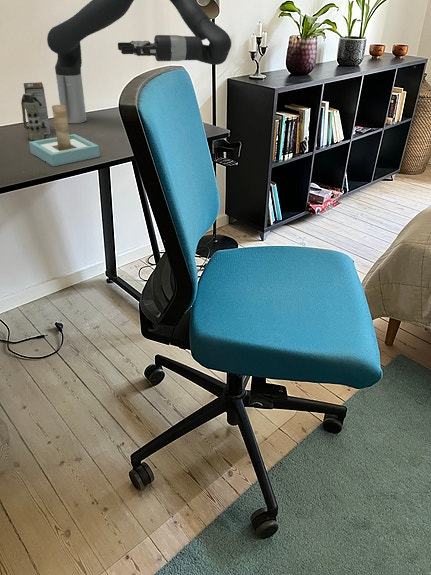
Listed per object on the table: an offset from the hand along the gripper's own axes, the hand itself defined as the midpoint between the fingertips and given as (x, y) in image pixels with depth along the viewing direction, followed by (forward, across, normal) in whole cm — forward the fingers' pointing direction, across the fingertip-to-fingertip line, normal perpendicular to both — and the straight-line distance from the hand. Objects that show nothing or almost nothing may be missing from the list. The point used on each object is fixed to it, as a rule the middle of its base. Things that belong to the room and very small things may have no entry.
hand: (119, 48), depth 147 cm
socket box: (+21, +8, +30) cm, 37 cm away
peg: (+21, +8, +30) cm, 37 cm away
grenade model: (+30, -12, +30) cm, 44 cm away
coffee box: (+28, -20, +30) cm, 46 cm away
